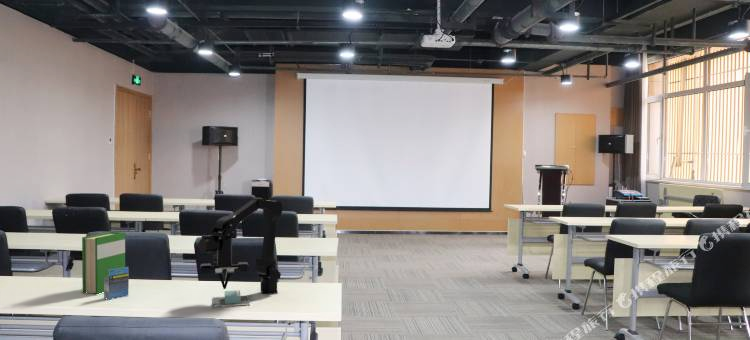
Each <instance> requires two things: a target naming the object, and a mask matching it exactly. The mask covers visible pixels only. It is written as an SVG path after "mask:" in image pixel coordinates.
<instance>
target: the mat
mask: <svg viewBox="0 0 750 340" xmlns="http://www.w3.org/2000/svg"><path fill="white" fill-rule="evenodd" d="M246 305H248V306H250V305H251V304H250V300H249V295H248V294H244V295H243V294H242V295H241V303H232V304H225V296H214V297H212V308H213V307H215V308H223V307H222V306H232V307H243V306H244V307H246Z"/></svg>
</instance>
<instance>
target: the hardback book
mask: <svg viewBox="0 0 750 340" xmlns="http://www.w3.org/2000/svg"><path fill="white" fill-rule="evenodd" d="M81 242H82V244H81V245H82V246H81V247H82V248H81V251H82V252H81V253H82V254H81V255H82V256H81V257H82V260H81V261H82V264H81V265H82V266H81V267H82V294H83V293H86V292H89V293H91V294H93V293H94V294H95V295H96V294H99V293H102V292H104V278H106V277H108V276H109V270H111V269H118V268H124V267H126V232H123V231H107V232H102V233H98V234H93V235H87V236H83V237H81ZM120 272H122V271H117V272H116V273H120ZM86 294H87V293H86ZM102 294H103V293H102ZM99 295H100V294H99Z"/></svg>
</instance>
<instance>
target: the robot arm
mask: <svg viewBox="0 0 750 340" xmlns="http://www.w3.org/2000/svg"><path fill="white" fill-rule="evenodd" d="M259 209H260V210H262V215H263V217H264V220H265V221H264V223H265V224H264V230H263V231H264V232H263V241H262V250H261V254H260V256H259V257H256V259H255V265H254V268H255V272H257V274H258V278H261V281H260V292H261V294H263V295H267V294H271V295H272V294H278V293H279V292H278V280H280V278H281V276H282V273H281V272H280V271H279V270H278V269H277V262H276V261H277V260H276V258H275V256H274V253H275V252H274V251H275V244H276V233H277V226H278V221H279V220H280V219H281V217H282V214H283V209H284V205H283V204H282V202H281V201H279V200H273V199H272V200H270V199H264V198H262V197H253V198H252V199H251V200H250V201H248V202H247V203H246V204H244V205H243V206H241V207H239V208H238V209H237V210H236V211H234V212H232V213H230V214H227V215H224V216H222V217H220V218H218V219H217V220H216V221H215V224H214V226H213V227H212V229H211V231H210V233H209V235H206V234H205V235H201V239H199V242H198V244H197V245H198V246H197V247H198V250H199V252H200V253H201V254H207V253H213V263H216V265H215V264H214V265H212V264H211V263H201V264H200V266H199V267H200V268H199V269H200V271H199V272H200V274H209V273H210V272H211V271H214V273H215V275H217V276H218V277H219V280H220V283H221V286H222V288H223V290H227V286H228V283H229V280H230V279H231V276H232V275H234V274H235V270H239V271H240V272H249V270H250V269H249V263H248V262H247V261H240V262H239V261H238V262H237V264H233V240H234V239H237V235H235V234H234V231H235V230H237V228H238V226H239V225H240V224H241V222H242V221H244V220H245V219H246V218H248V217H249V216H250V215H252V214H254V213H255V212H256V211H257V210H259ZM214 252H216V253H214ZM223 271H225V277H224V272H223Z"/></svg>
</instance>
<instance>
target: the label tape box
mask: <svg viewBox="0 0 750 340" xmlns="http://www.w3.org/2000/svg"><path fill="white" fill-rule="evenodd" d="M117 271H122V272H120V273H116V272H117ZM129 272H130V271H129V266H125V267H124V268H118V269H111V270H109V276H108V277H106V278H104V293H103V294H104V295H103V298H104V299H105V298H107V299H106V300H108V299H110V300H113V299H112V298H115V299H118V298H117V297H119V298H123V296H124V297H128V296H129V285H130V284H129V280H130V279H129V278H130V277H129V276H130V275H129V274H130V273H129ZM127 295H128V296H127Z"/></svg>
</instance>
